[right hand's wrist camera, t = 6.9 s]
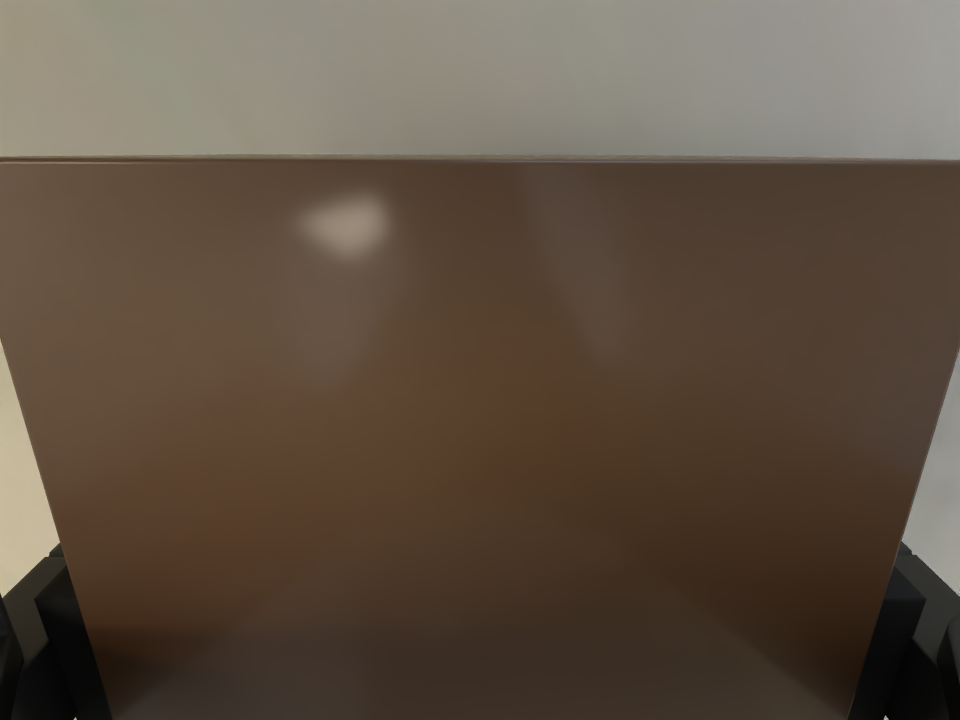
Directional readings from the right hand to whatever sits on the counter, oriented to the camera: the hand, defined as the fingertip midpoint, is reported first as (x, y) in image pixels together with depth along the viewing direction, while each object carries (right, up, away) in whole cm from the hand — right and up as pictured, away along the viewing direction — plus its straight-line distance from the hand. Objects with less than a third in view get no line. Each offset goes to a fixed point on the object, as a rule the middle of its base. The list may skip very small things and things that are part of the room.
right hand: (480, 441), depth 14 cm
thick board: (0, -25, +10) cm, 27 cm away
